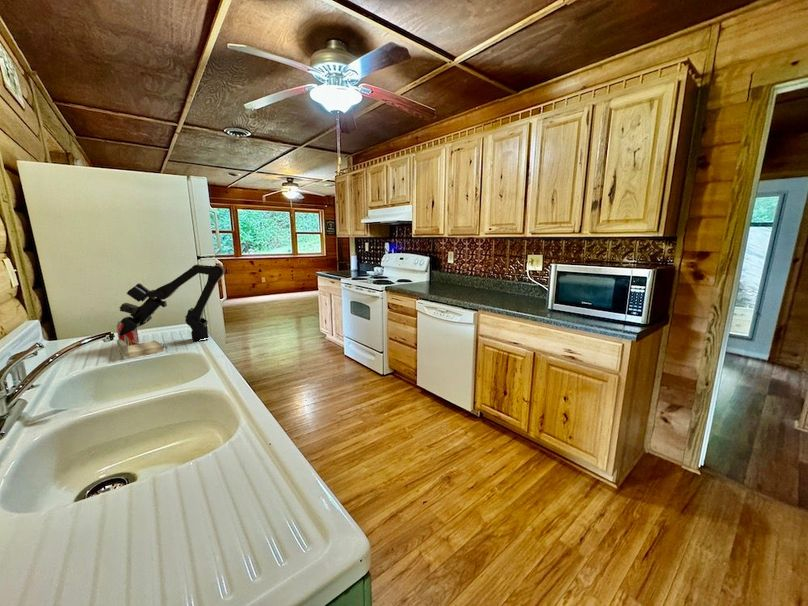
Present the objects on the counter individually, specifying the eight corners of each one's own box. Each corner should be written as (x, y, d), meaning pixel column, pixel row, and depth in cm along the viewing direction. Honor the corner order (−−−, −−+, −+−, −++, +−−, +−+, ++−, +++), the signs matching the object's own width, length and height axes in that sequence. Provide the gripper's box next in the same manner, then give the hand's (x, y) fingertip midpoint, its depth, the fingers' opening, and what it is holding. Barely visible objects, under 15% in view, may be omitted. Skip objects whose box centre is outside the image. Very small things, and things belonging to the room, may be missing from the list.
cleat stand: (156, 345, 155) (154, 333, 153) (163, 351, 147) (161, 338, 146) (119, 353, 144) (116, 340, 143) (124, 359, 137) (122, 345, 136)
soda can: (131, 348, 150) (126, 323, 148) (116, 348, 150) (111, 323, 148) (143, 344, 157) (139, 319, 155) (129, 344, 157) (124, 319, 155)
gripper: (140, 293, 159) (116, 317, 158) (122, 300, 142) (95, 327, 140) (161, 308, 163) (138, 332, 162) (147, 316, 146) (121, 343, 144)
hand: (123, 333), depth 152 cm, fingers closed on soda can, 7 cm apart
